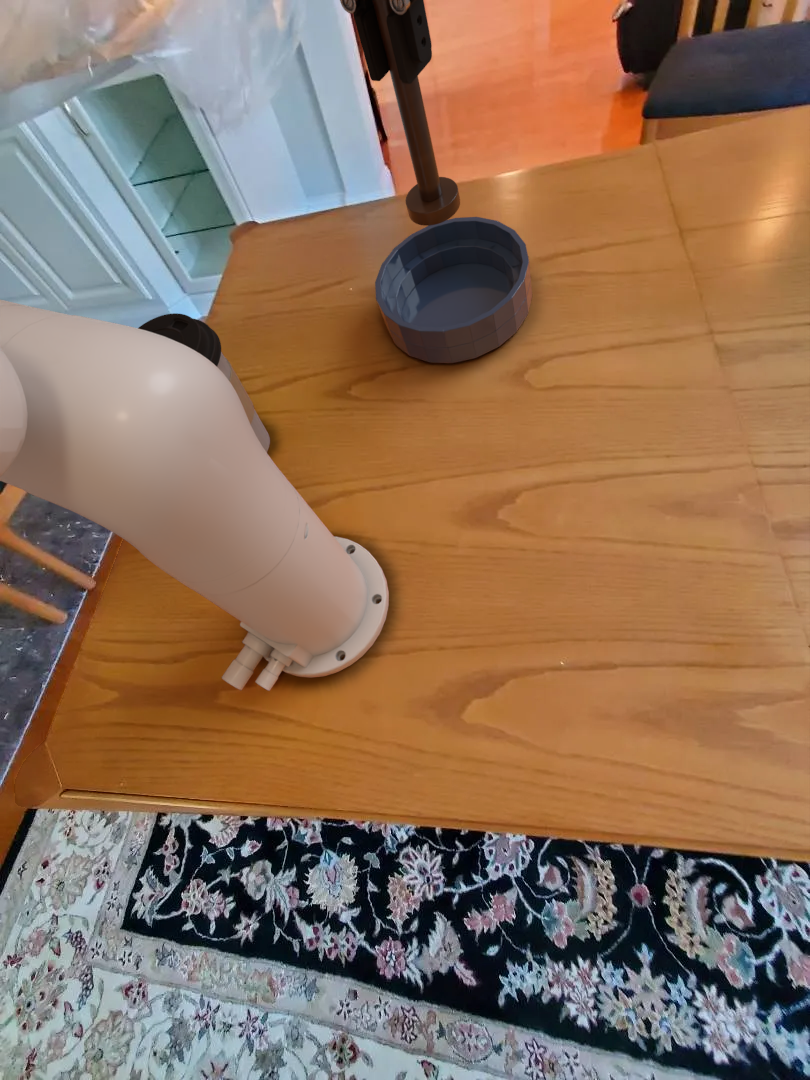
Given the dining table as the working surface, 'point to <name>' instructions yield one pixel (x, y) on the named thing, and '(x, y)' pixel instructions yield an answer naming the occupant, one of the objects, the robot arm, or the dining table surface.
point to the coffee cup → (209, 346)
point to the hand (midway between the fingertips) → (401, 68)
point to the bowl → (455, 289)
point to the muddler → (418, 142)
